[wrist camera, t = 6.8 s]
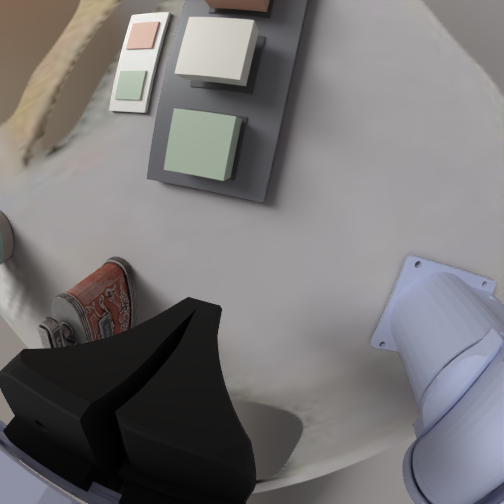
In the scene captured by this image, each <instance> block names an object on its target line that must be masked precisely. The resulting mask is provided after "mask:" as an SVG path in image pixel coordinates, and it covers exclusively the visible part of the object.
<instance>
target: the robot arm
mask: <svg viewBox="0 0 504 504" xmlns="http://www.w3.org/2000/svg"><path fill="white" fill-rule="evenodd" d="M417 261H420V263H419V265H418V266H415V263H416V262H417ZM484 281H485V282H484ZM483 282H484V284H483V285H482V283H483ZM495 287H496V282H495V281H494V280H493V279H490V278H487V277H484V276H481V275H478V274H475V273H472V272H468V271H465V270H462V269H459V268H456V267H452V266H449V265H446V264H443V263H439V262H436V261H433V260H429V259H426V258H423V257H419V256H416V255H409V256H407V257H406V259H405V261H404V264H403V267H402V269H401V272H400V274H399V277H398V279H397V282H396V284H395V287H394V289H393V292H392V294H391V296H390V299H389V301H388V303H387V306H386V308H385V310H384V312H383V315H382V317H381V319H380V321H379V323H378V326H377V328H376V330H375V332H374V334H373V336H372V338H371V341H370V343H371V346H372V347H373V348H378V349H384V350H390V351H396V352H399V355H400V357H401V360H402V363H403V365H404V368H405V371H406V373H407V376H408V379H409V382H410V385H411V388H412V391H413V393H414V396H415V399H416V403H417V406H418V409H419V412H420V415H419V417H418V419H417V420H416V421H415V423H414V424H413V426H414V430H415V433H416V437H417V440H416V441H414V442H413V443H412V444H411V445H410V447H409V448H408V450H407V452H406V454H405V456H404V460H403V478H404V483H405V485H406V489H407V491H408V493H409V495H410V497H411V498H412V500H413V501H414V503H415V504H504V305H503V304H502V303H501V302H500V301H499V300H498V299H497V298H496V297H495V296H494V295H493V291H494V289H495ZM221 312H222V308H221V307H220V306H219V305H216V304H212V303H208V302H205V301H201V300H197V299H194V298H190V297H187V298H186V299H184V300H182V301H180V302H179V303H177V304H176V305H174V306H172V307H171V308H169V309H167V310H166V311H164V312H162V313H160V314H158V315H157V316H155V317H153V318H151V319H149V320H147V321H145V322H143V323H141V324H139V325H137V326H135V327H133V328H131V329H128V330H126V331H123V332H121V333H118V334H115V335H112V336H109V337H106V338H103V339H99V340H95V341H91V342H87V343H83V344H78V345H72V346H65V347H58V348H44V349H23V350H22V351H21V352H20V353H19V354H18V355H17V356H16V357H15V358H14V359H12V361H10V362H9V363H8V364H7V365H6V366H5V367H4V368H3V369H2V370H1V371H0V388H1V391H2V393H3V395H4V397H5V399H6V401H7V402H8V404H9V406H10V408H11V410H12V411H13V413H14V415H15V417H14V418H13V419H12V420H11V422H10V423H9V424H8V425H6V424H5V423H4V422H3V421H1V420H0V504H81V503H80V502H78V501H77V500H75V499H74V498H72V497H71V496H69V495H68V494H66V493H64V492H63V491H61V490H60V489H58V488H57V487H55V486H54V485H52V484H51V483H49V482H48V481H46V480H45V479H43V478H42V477H40V476H39V475H38V474H36V473H35V472H33V471H32V470H31V469H29V468H28V467H26V466H25V465H24V464H22V463H21V462H20V461H19V460H18V459H20V460H21V461H22V462H24V463H25V464H26V465H28V466H29V467H30V468H32V469H33V470H34V471H36V472H38V473H39V474H40V475H42V476H43V477H45V478H46V479H48V480H49V481H51V482H52V483H54V484H56V485H57V486H59V487H60V488H62V489H63V490H65V491H67V492H68V493H70V494H72V495H74V496H75V497H77V498H79V499H81V500H83V501H85V502H86V503H88V504H246V501H247V499H248V498H249V496H250V495H251V493H252V492H253V490H254V488H255V485H256V468H255V460H254V454H253V450H252V444H251V441H250V439H249V437H248V436H247V434H246V432H245V430H244V428H243V427H242V425H241V423H240V421H239V419H238V416H237V414H236V412H235V410H234V408H233V405H232V402H231V400H230V397H229V394H228V392H227V389H226V386H225V382H224V379H223V375H222V370H221V365H220V360H219V352H218V340H217V335H218V329H219V324H220V318H221ZM381 342H384V343H383V344H380V343H381ZM15 456H16V457H17V458H18V459H17V458H16V457H15Z"/></svg>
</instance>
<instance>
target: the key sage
mask: <svg viewBox="0 0 504 504" xmlns="http://www.w3.org/2000/svg"><path fill="white" fill-rule="evenodd" d="M241 123H242V119H241V118H238V117H236V116H230V115H224V114H217V113H210V112H202V111H194V110H186V109H176V108H174V111H173V116H172V122H171V127H170V133H169V139H168V145H167V151H166V157H165V164H164V170H169V171H174V172H180V173H185V174H191V175H196V176H201V177H206V178H211V179H216V180H221V181H224V180H226V179H228V178H231V173H232V168H233V162H234V157H235V152H236V147H237V142H238V137H239V132H240V128H241Z"/></svg>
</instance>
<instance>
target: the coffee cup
mask: <svg viewBox="0 0 504 504" xmlns="http://www.w3.org/2000/svg"><path fill="white" fill-rule="evenodd" d="M13 249H14V238H13V233H12V229H11V226H10V223H9V221H8V219H7V218H6V216H5V215H4V214H3V213H2V212H1V211H0V264H2V263H3V262H4V261H6V260H7V259H8V258H10V257H11V255H12V253H13Z"/></svg>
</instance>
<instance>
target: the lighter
mask: <svg viewBox="0 0 504 504" xmlns="http://www.w3.org/2000/svg"><path fill="white" fill-rule="evenodd" d="M136 317H137V299H136V288H135V283H134V277H133V272H132V269H131V266H130V265H129V263H128V262H127V261H126V260H124V259H123V258H121V257H111V258H110V259H108V260H107V261H105V262H104V263H103V265H102V267H101V268H99V269H98V270H96V271H95V272H94V273H92V274H91V275H89V276H88V277H87V278H85V279H84V280H83V281H81V282H80V283H78V284H77V285H76V286H74V287H73V288H72V289H70V290H69V291H68V292H66V293H60V294H59V295H58V296H56V297H55V298H54V299H53V300H52V301H51V316H47V317H46V318H45V319H44V320H43V321H41V322H40V323H39V324H38V327H39V328H38V332H39V335H40V339H41V342H42V346H43V349H44V348H58V347H65V346H72V345H78V344H83V343H87V342H91V341H95V340H99V339H103V338H106V337H109V336H112V335H115V334H118V333H121V332H123V331H126V330H128V329H131V328H133V327H135V324H136Z"/></svg>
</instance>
